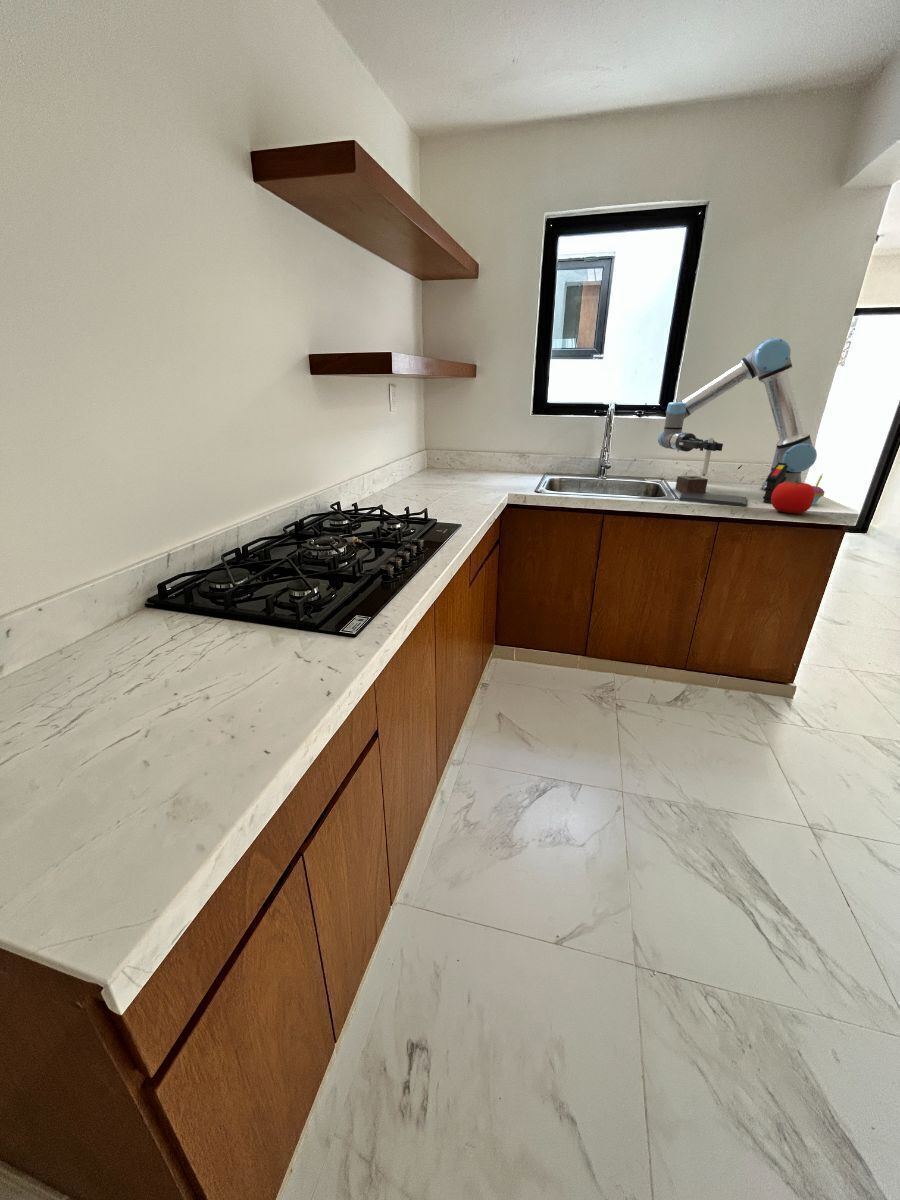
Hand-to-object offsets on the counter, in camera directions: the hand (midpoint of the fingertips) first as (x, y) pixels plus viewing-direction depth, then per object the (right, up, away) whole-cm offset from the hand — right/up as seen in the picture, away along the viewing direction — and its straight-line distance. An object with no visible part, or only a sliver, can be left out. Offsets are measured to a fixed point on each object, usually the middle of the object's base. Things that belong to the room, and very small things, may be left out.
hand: (718, 447), depth 193 cm
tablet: (+5, -18, +13) cm, 23 cm away
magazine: (+27, -19, +11) cm, 35 cm away
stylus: (-1, -9, +10) cm, 13 cm away
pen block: (+4, -10, +31) cm, 33 cm away
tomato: (+22, -27, -8) cm, 35 cm away
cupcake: (+39, -21, +6) cm, 45 cm away
